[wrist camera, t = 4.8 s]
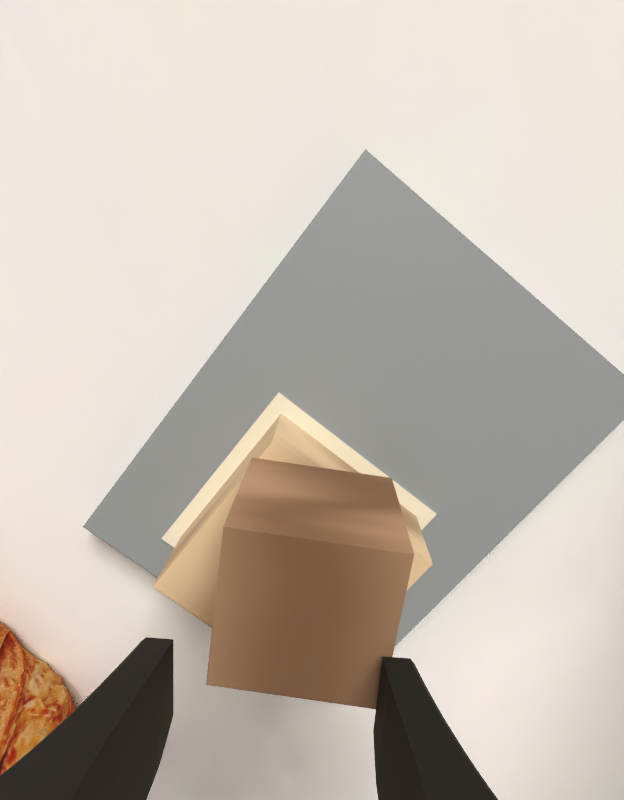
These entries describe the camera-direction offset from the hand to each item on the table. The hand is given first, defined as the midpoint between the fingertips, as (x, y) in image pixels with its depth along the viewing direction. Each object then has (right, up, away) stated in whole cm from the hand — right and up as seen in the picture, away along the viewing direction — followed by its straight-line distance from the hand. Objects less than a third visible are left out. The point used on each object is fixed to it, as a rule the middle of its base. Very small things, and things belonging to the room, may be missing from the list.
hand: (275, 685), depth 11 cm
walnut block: (+1, +2, +4) cm, 5 cm away
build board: (+2, +4, +8) cm, 9 cm away
